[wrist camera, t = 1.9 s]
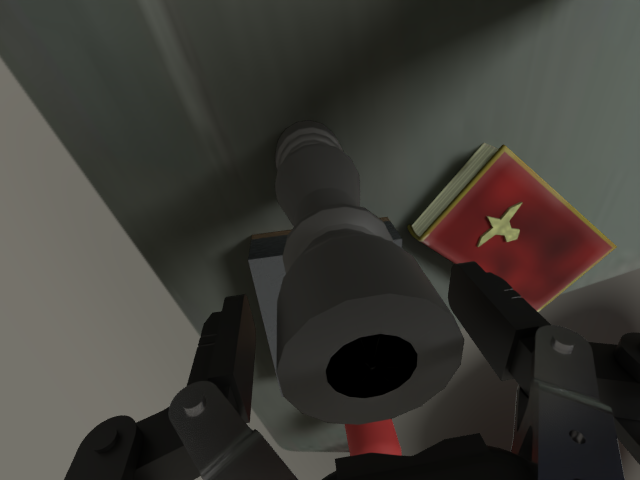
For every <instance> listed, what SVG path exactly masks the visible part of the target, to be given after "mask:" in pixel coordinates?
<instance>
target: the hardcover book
mask: <svg viewBox="0 0 640 480" xmlns="http://www.w3.org/2000/svg"><path fill="white" fill-rule="evenodd" d="M407 228H408V230H409V232H410V234H411V235H412V236H413V237H414V238H415V239H417V240H418V241H420V242H422V243H423V244H425V245H426V246H428V247H429V248H431V249H433V250H434V251H436V252H437V253H439V254H440V255H442V256H444V257H445V258H447V259H448V260H450V261H452V262H453V263H455V264H458V263H464V262H471V261H474V262H476V263H477V264H478V265H479V266H480V267H481V268H482V269H483V270H484V271H485V272H486V273H487V272H491V273H493V274H495V275H497V276H499V277H501V278H502V279H504V280H505V281H506V282H507V283H508V284H509V285H510V286H511V287H512V288H513V290H515V291H516V292H517V293H519V294H520V295H521V298H524V299H525V300H526V301H527V302H528V303H529V304H530V305H531V306H532V307H533V308H534V309H535V310H536V311H537V312H539V311H540V310H541V309H543V308H544V307H545V306H546V305H547V304H549V303H550V302H551V301H552V300H553V299H555V298H556V297H557V296H558V295H560V294H561V293H562V292H563V291H564V290H566V289H567V288H568V287H569V286H570V285H572V284H573V283H574V282H575V281H576V280H578V279H579V278H580V277H581V276H582V275H584V274H585V273H586V272H587V271H588V270H590V269H591V268H592V267H593V266H595V265H596V264H597V263H598V262H599V261H601V260H602V259H603V258H604V257H605V256H607V255H608V254H609V253H610V252H611V251H613V250H614V249H615V248H616V247H617V246H616V245H615V244H613V243H612V242H611V241H610V240H609V239H608V238H607V237H606V236H605V235H604V234H602V233H601V232H600V231H599V230H598V229H597V228H596V227H595V226H594V225H592V224H591V223H590V222H589V221H588V220H587V219H586V218H585V217H584V216H583V215H581V214H580V213H579V212H578V211H577V210H576V209H575V208H574V207H573V206H572V205H570V204H569V203H568V202H567V201H566V200H565V199H564V198H563V197H562V196H560V195H559V194H558V193H557V192H556V191H555V190H554V189H553V188H552V187H551V186H549V185H548V184H547V183H546V182H545V181H544V180H543V179H542V178H541V177H539V176H538V175H537V174H536V173H535V172H534V171H533V170H532V169H531V168H530V167H528V166H527V165H526V164H525V163H524V162H523V161H522V160H521V159H520V158H519V157H517V156H516V155H515V154H514V153H513V152H512V151H511V150H510V149H509V148H507V147H506V146H505V145H502V146H501V147H500V148H499V149H497V148H495V147H493V146H490V145H488V144H486V143H483V144H482V145H481V147H480V148H479V149H478V150H477V151H476V152H475V153H474V155H473V156H472V157H471V158H470V159H469V160H468V161H467V163H466V164H465V165H464V166H463V167H462V168H461V170H460V171H459V172H458V173H457V174H456V175H455V176H454V178H453V179H452V180H451V181H450V182H449V183H448V184H447V186H446V187H445V188H444V189H443V190H442V191H441V193H440V194H439V195H438V196H437V197H436V198H435V199H434V201H433V202H432V203H431V204H430V205H429V206H428V207H427V209H426V210H425V211H424V212H423V213H422V214H421V216H420V217H419V218H418V219H417V220H416V221H415V222H414V224H413V225H410V224H409V225H408V226H407Z"/></svg>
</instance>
